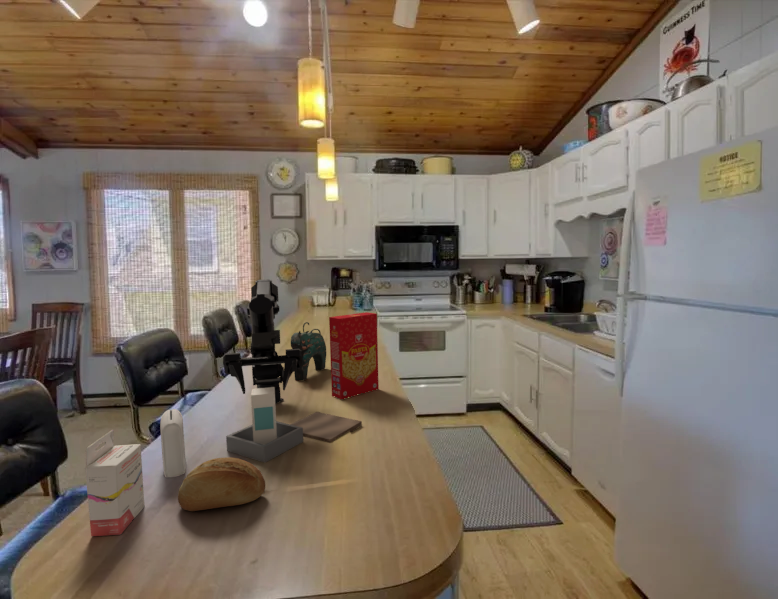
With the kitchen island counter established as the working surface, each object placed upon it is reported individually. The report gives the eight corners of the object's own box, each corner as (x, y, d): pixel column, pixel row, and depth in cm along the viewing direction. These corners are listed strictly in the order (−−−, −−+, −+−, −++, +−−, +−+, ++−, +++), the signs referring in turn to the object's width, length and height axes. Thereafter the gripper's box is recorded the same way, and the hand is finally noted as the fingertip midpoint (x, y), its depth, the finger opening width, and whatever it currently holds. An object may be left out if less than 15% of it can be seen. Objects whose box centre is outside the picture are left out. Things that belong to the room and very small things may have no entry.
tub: (227, 453, 101) (226, 436, 100) (266, 434, 111) (266, 418, 110) (264, 465, 94) (264, 447, 94) (303, 443, 105) (302, 427, 104)
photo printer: (164, 461, 97) (159, 406, 96) (185, 456, 99) (181, 403, 98) (163, 482, 88) (158, 422, 87) (187, 477, 90) (182, 418, 89)
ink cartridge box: (122, 535, 72) (114, 447, 70) (90, 537, 71) (81, 449, 70) (146, 505, 80) (140, 426, 78) (117, 507, 80) (110, 428, 78)
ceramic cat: (303, 382, 155) (301, 325, 153) (287, 381, 158) (284, 325, 156) (330, 368, 174) (328, 317, 172) (315, 367, 176) (313, 317, 174)
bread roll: (264, 512, 77) (262, 468, 76) (171, 525, 74) (167, 479, 73) (267, 485, 86) (265, 445, 86) (184, 495, 83) (181, 454, 82)
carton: (255, 442, 104) (252, 388, 103) (277, 440, 106) (274, 386, 104) (253, 452, 99) (250, 395, 98) (277, 449, 101) (274, 393, 99)
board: (282, 432, 112) (282, 427, 112) (316, 415, 123) (316, 411, 123) (330, 444, 104) (329, 439, 104) (361, 425, 115) (361, 421, 115)
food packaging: (341, 399, 136) (338, 318, 133) (331, 395, 140) (329, 317, 137) (378, 389, 146) (376, 313, 143) (368, 386, 150) (366, 312, 147)
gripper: (221, 321, 108) (218, 377, 98) (299, 317, 112) (304, 370, 103) (227, 347, 116) (224, 401, 107) (299, 342, 121) (303, 393, 111)
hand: (264, 391), depth 107 cm, fingers open, 9 cm apart
